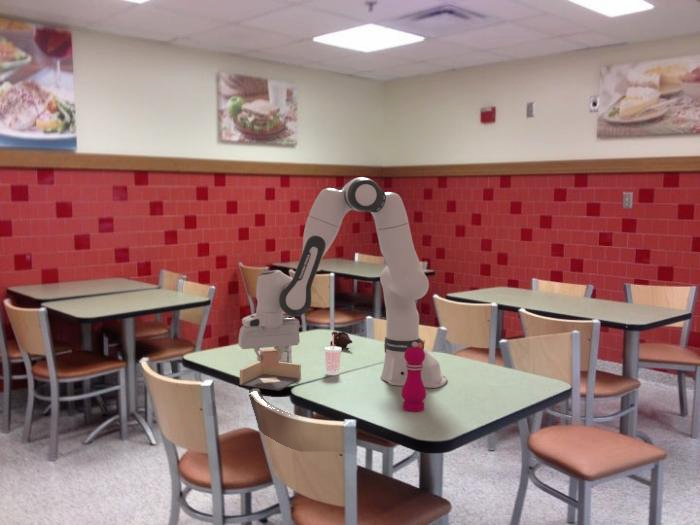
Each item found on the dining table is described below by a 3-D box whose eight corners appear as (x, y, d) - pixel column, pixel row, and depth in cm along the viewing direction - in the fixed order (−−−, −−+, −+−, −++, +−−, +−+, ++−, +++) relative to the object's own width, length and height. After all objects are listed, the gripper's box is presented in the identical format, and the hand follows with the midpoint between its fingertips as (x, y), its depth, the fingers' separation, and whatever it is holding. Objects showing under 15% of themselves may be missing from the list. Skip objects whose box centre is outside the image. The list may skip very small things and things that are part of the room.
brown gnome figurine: (360, 334, 259) (340, 331, 272) (346, 331, 255) (326, 328, 268) (358, 351, 259) (337, 347, 271) (343, 349, 254) (323, 345, 267)
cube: (274, 363, 216) (274, 348, 216) (278, 366, 212) (278, 352, 211) (260, 364, 214) (260, 349, 214) (264, 368, 210) (264, 353, 209)
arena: (300, 378, 217) (300, 364, 217) (279, 390, 203) (279, 375, 203) (262, 373, 223) (262, 359, 222) (238, 385, 209) (238, 370, 208)
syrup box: (292, 362, 239) (292, 323, 238) (288, 366, 233) (289, 327, 232) (276, 361, 240) (277, 323, 238) (273, 365, 234) (273, 326, 232)
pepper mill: (423, 404, 191) (425, 338, 189) (427, 412, 184) (429, 344, 182) (399, 404, 191) (401, 338, 189) (402, 412, 184) (404, 344, 182)
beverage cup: (343, 371, 227) (344, 333, 225) (338, 376, 221) (339, 336, 219) (327, 370, 228) (327, 331, 227) (321, 374, 222) (322, 335, 221)
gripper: (296, 315, 218) (296, 355, 220) (237, 318, 210) (237, 360, 212) (302, 319, 213) (302, 359, 214) (241, 322, 205) (241, 364, 206)
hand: (269, 360), depth 213 cm, fingers closed on cube, 5 cm apart
